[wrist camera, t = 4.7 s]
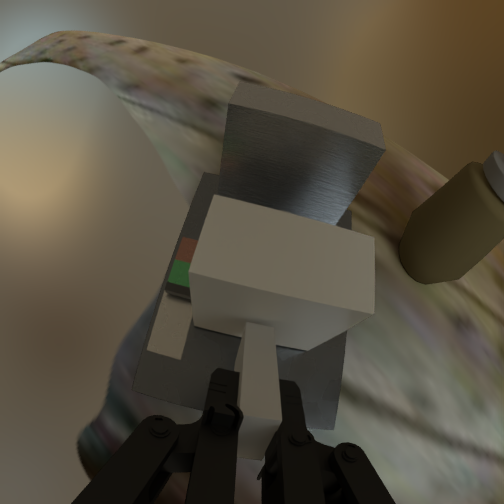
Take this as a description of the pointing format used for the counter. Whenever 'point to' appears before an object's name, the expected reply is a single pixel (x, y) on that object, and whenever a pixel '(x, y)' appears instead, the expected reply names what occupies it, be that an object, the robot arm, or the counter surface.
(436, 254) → the squeeze bottle
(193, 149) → the counter surface
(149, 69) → the counter surface
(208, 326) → the block
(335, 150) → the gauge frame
